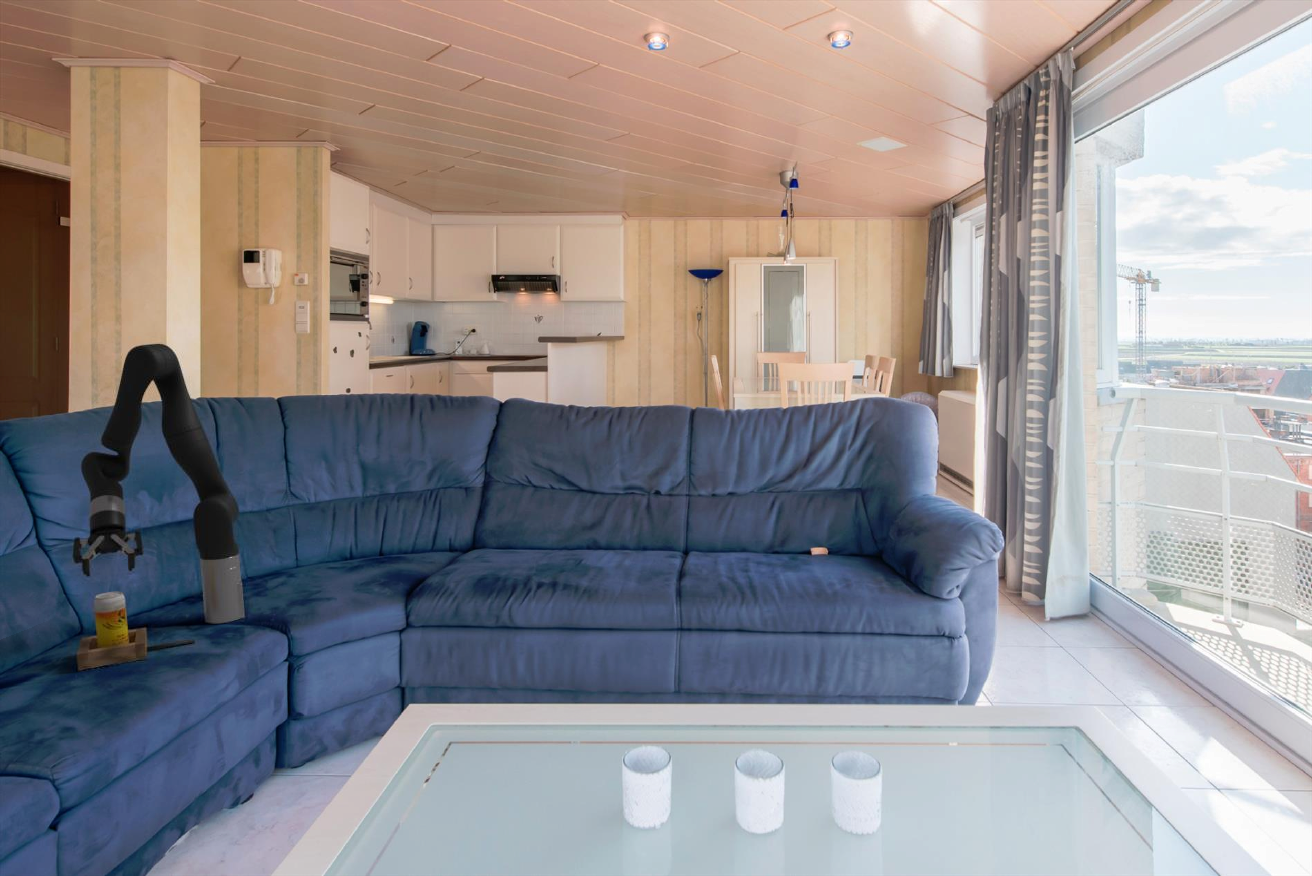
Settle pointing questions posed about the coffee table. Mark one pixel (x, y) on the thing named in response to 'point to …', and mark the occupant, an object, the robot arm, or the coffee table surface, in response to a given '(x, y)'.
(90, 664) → the walnut collar
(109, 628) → the soda can
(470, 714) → the coffee table surface
